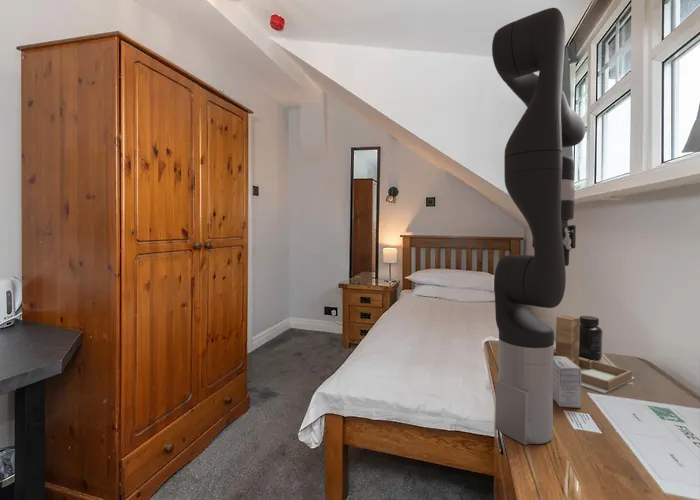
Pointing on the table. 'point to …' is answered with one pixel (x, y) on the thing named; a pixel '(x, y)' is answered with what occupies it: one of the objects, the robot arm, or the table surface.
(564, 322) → the walnut keyhole peg
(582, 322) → the supplement bottle
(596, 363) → the keyhole board
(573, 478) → the table surface
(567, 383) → the medicine box
